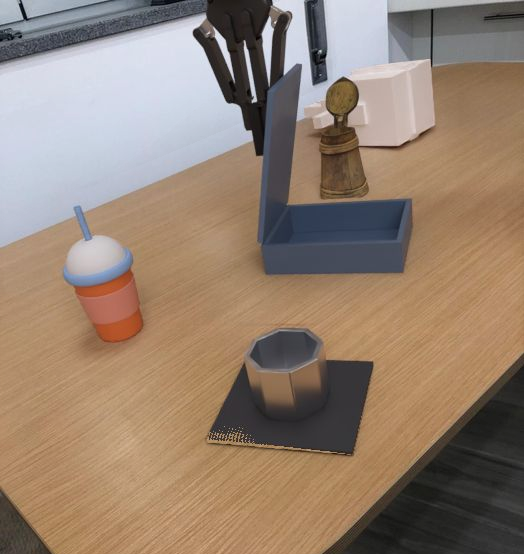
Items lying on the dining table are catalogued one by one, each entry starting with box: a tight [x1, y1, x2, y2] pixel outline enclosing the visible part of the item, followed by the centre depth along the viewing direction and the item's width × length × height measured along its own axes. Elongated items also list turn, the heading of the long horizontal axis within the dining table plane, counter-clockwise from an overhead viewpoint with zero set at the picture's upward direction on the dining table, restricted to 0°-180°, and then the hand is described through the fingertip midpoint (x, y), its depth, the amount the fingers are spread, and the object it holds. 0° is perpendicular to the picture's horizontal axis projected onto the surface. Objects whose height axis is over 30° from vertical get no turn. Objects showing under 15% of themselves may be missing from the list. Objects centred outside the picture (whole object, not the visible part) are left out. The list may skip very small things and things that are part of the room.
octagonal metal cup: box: [243, 327, 330, 422], centre depth 62 cm, size 8×8×6 cm
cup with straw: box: [62, 205, 144, 343], centre depth 78 cm, size 9×9×18 cm
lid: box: [256, 63, 303, 245], centre depth 84 cm, size 20×15×1 cm
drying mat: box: [205, 359, 375, 455], centre depth 64 cm, size 15×14×1 cm
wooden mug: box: [318, 76, 369, 200], centre depth 107 cm, size 9×14×18 cm, turn 164°
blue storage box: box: [260, 197, 414, 276], centre depth 89 cm, size 20×15×5 cm
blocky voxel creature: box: [303, 58, 436, 147], centre depth 132 cm, size 15×25×28 cm
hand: (263, 152), depth 84 cm, fingers closed
